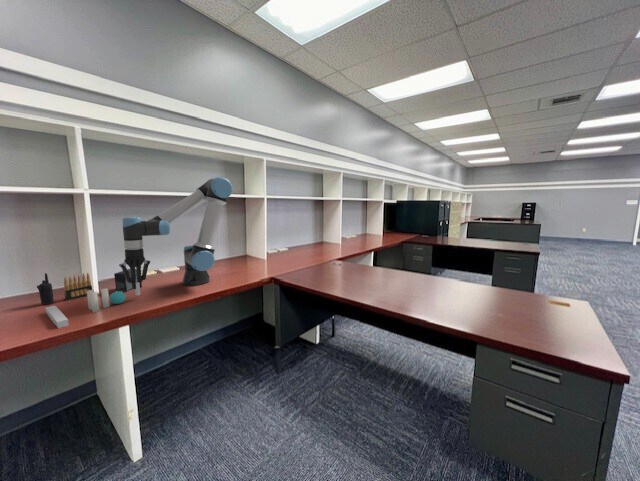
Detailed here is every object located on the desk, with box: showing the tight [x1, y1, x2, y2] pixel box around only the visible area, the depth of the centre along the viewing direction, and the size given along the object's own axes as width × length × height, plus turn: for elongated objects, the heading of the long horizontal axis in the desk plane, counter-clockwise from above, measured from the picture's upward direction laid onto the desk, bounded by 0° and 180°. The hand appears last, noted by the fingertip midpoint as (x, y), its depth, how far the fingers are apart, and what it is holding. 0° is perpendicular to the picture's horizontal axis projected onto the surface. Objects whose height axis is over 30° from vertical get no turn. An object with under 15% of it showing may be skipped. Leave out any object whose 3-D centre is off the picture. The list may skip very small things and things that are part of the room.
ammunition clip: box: [63, 272, 93, 302], centre depth 133 cm, size 11×2×12 cm, turn 152°
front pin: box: [100, 287, 111, 309], centre depth 121 cm, size 2×2×8 cm
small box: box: [113, 268, 137, 293], centre depth 147 cm, size 11×6×10 cm, turn 178°
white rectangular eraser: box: [45, 305, 69, 329], centre depth 108 cm, size 3×24×2 cm, turn 54°
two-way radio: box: [36, 272, 55, 305], centre depth 124 cm, size 6×4×15 cm
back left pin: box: [90, 291, 100, 313], centre depth 116 cm, size 2×2×8 cm
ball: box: [109, 291, 127, 305], centre depth 125 cm, size 6×6×6 cm
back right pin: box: [86, 289, 95, 311], centre depth 119 cm, size 2×2×8 cm
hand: (137, 294), depth 132 cm, fingers closed
